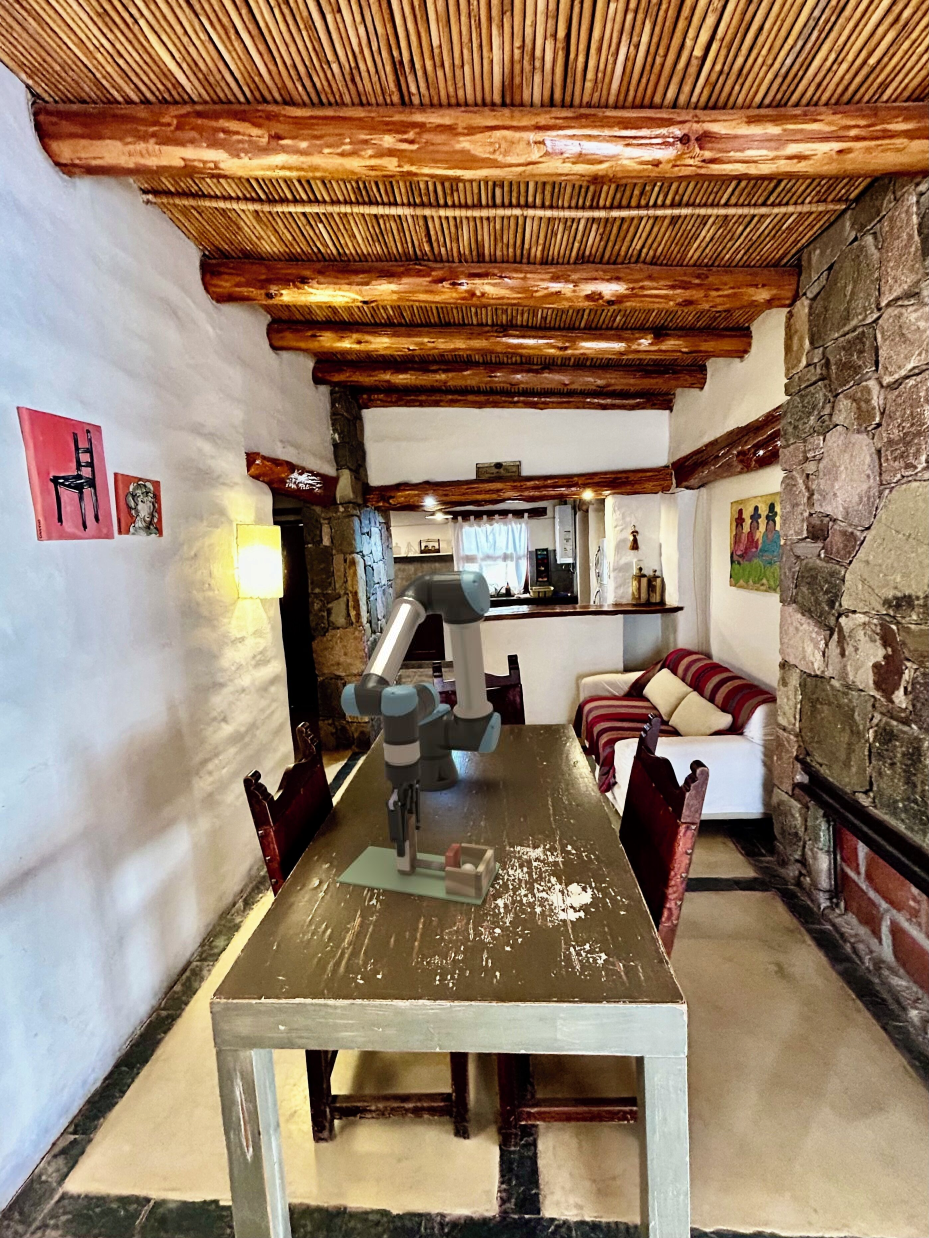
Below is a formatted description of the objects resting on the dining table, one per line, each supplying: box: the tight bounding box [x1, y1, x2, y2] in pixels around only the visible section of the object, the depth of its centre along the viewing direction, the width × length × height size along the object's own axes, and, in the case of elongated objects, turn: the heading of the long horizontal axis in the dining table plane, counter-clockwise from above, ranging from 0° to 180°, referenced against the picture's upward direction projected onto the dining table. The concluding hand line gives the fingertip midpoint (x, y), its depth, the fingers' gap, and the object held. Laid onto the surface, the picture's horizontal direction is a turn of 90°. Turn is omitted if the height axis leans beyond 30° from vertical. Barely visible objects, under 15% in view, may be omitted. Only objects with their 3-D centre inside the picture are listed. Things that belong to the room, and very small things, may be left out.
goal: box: [445, 842, 497, 899], centre depth 122 cm, size 11×7×5 cm, turn 162°
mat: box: [336, 845, 501, 906], centre depth 126 cm, size 15×32×1 cm, turn 72°
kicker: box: [398, 813, 461, 874], centre depth 124 cm, size 5×13×12 cm, turn 72°
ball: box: [461, 864, 476, 871], centre depth 122 cm, size 4×4×4 cm
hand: (407, 864), depth 126 cm, fingers closed on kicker, 3 cm apart
